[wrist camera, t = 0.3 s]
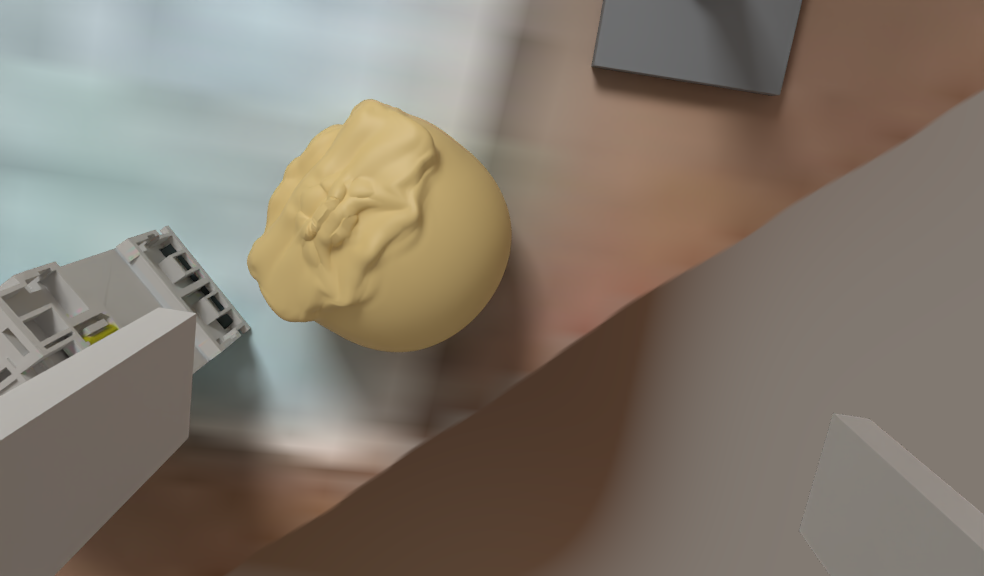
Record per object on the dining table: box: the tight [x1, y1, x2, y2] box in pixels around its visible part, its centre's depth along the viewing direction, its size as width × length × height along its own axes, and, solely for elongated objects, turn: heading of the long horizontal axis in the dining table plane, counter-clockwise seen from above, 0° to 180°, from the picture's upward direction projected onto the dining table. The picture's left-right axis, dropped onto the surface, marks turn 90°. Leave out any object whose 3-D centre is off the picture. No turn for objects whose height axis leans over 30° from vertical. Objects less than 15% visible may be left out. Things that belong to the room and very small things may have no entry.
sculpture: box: [247, 99, 511, 352], centre depth 36 cm, size 11×12×11 cm
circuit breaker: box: [0, 226, 251, 396], centre depth 36 cm, size 8×14×15 cm, turn 125°
